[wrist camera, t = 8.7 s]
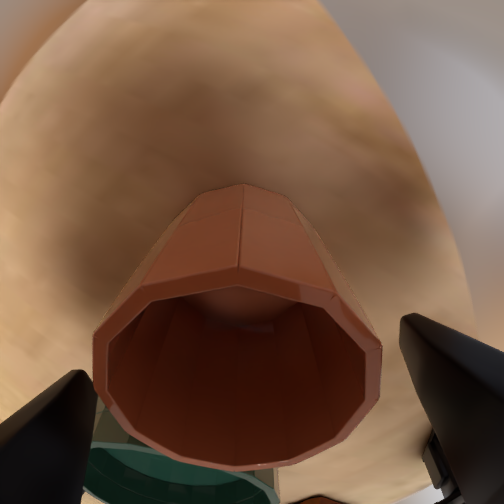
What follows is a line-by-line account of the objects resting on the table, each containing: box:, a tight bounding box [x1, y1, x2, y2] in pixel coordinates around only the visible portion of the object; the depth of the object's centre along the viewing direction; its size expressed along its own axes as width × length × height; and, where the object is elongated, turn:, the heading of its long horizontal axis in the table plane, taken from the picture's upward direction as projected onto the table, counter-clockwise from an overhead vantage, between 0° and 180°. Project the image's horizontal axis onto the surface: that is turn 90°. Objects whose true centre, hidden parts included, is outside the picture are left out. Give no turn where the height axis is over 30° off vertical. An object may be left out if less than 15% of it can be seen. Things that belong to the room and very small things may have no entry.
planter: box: [83, 396, 280, 504], centre depth 17 cm, size 14×14×5 cm
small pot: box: [92, 184, 382, 472], centre depth 10 cm, size 7×7×8 cm
